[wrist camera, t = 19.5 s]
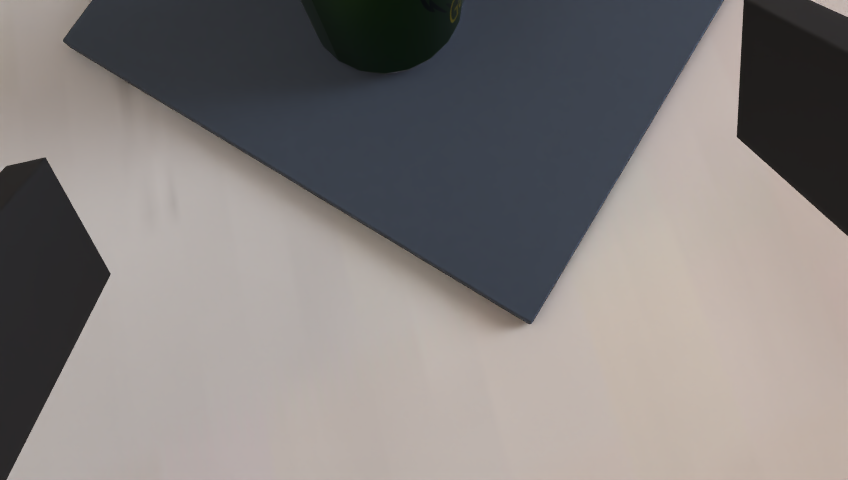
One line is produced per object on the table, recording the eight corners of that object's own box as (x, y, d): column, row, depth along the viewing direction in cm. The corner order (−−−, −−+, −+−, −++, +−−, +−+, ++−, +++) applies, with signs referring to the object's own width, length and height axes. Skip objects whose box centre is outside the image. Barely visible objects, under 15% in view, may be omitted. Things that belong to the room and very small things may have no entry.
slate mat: (71, 47, 26) (61, 40, 26) (275, -231, 28) (270, -244, 28) (530, 325, 23) (531, 323, 22) (730, -12, 25) (736, -21, 24)
